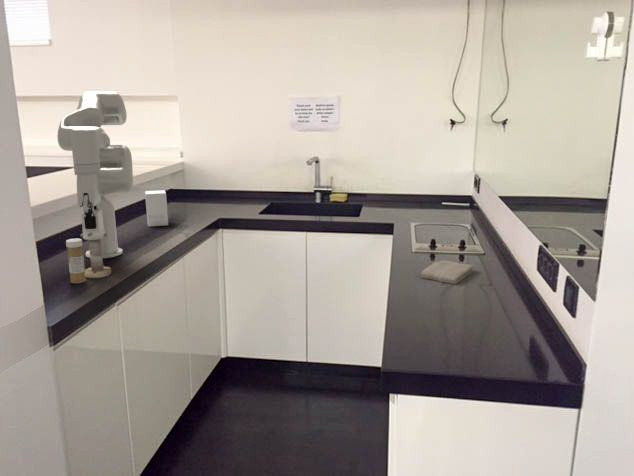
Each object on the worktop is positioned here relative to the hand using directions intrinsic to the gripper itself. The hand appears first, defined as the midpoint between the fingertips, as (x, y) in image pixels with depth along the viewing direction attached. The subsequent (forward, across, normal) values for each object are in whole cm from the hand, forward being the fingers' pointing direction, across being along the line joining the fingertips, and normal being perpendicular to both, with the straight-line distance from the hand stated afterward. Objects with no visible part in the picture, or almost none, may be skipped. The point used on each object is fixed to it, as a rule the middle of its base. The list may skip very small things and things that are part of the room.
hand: (93, 226), depth 169 cm
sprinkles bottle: (+16, +7, -4) cm, 18 cm away
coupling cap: (+4, +1, 0) cm, 4 cm away
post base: (+16, 0, 0) cm, 16 cm away
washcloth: (+17, +17, +112) cm, 115 cm away
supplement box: (+16, -74, +10) cm, 76 cm away
